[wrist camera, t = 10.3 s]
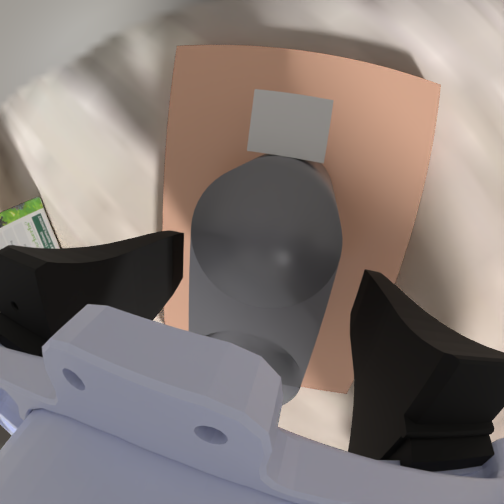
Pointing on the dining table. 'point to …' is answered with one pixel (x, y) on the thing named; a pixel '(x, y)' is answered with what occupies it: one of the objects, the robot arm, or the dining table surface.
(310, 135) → the block
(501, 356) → the robot arm
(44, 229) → the syrup box
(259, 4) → the dining table surface
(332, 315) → the terracotta tile
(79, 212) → the dining table surface
